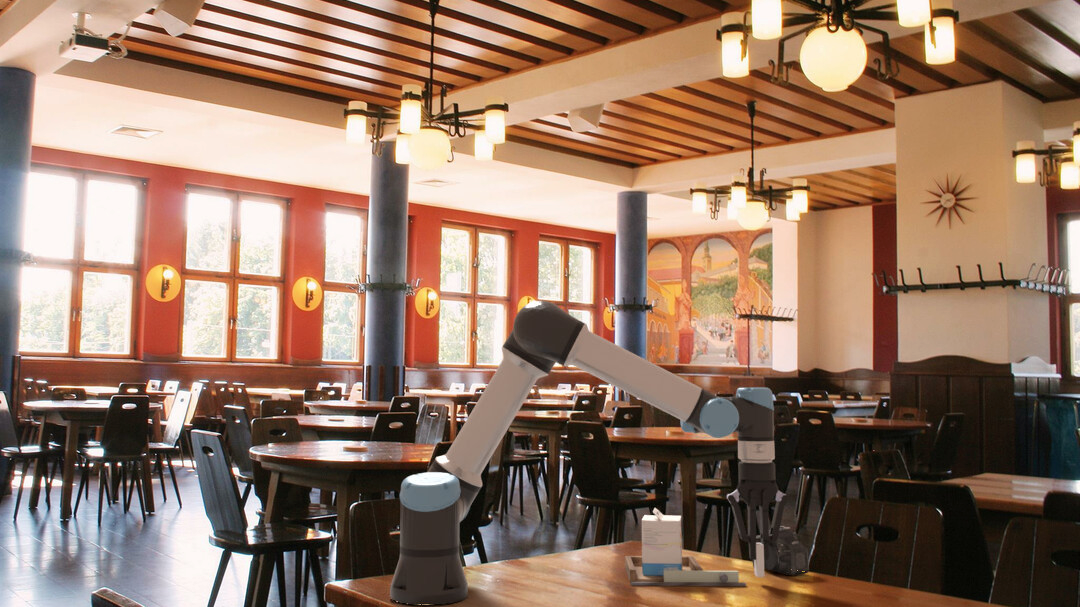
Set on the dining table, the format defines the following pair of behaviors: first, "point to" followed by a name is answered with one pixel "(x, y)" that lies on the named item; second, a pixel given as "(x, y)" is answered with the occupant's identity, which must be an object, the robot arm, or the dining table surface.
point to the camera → (786, 554)
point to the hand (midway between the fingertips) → (759, 575)
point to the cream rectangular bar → (701, 576)
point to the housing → (638, 579)
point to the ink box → (661, 543)
